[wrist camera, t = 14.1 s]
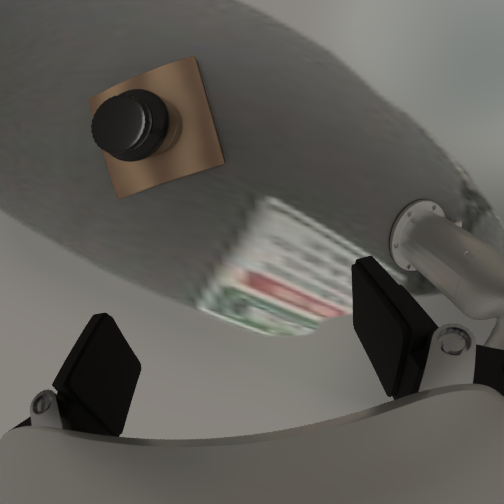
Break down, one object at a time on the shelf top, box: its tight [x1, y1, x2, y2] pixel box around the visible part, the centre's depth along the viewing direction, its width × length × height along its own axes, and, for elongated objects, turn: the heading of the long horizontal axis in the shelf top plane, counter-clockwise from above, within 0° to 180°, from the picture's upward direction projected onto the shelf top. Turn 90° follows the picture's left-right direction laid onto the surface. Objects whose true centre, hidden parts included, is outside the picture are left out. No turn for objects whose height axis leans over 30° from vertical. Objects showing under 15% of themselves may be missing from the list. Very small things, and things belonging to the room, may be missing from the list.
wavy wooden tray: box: [89, 56, 225, 199], centre depth 29 cm, size 14×14×3 cm
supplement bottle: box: [91, 89, 182, 162], centre depth 22 cm, size 7×7×12 cm
